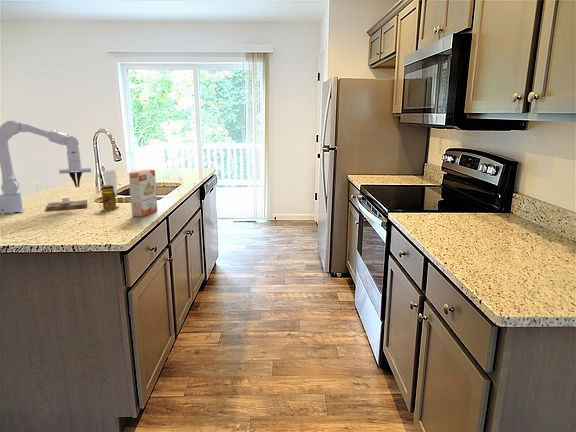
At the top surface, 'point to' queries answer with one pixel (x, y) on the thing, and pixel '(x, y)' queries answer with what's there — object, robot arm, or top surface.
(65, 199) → the fader tab
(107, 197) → the condiment
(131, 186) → the cracker box
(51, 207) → the fader board
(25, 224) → the top surface
